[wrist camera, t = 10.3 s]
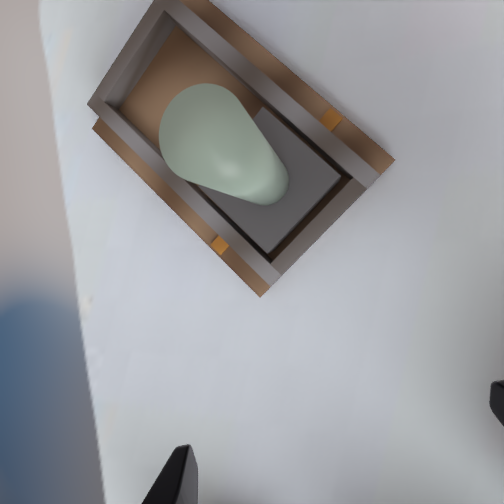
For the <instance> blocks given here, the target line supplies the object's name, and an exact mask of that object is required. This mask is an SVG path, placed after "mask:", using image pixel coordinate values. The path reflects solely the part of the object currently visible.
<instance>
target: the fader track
mask: <svg viewBox="0 0 504 504" xmlns="http://www.w3.org/2000/svg"><path fill="white" fill-rule="evenodd" d="M204 83H208V84H215V85H219V86H222V87H224V88H226V89H227V90H229V91H230V92H231V93H233V94H234V95H235V96H236V97H237V99H238V100H239V101H240V103H241V104H242V106H243V107H244V109H245V110H246V111H247V113H248V114H249V116H250V117H251V119H252V120H253V118H254V117H255V116H256V115H257V113H258V112H259V111H260V110H261V108H262V107H264V108H265V109H266V110H268V111H269V112H270V113H271V114H272V115H273V116H274V117H275V118H277V119H278V120H279V121H280V122H281V123H282V124H283V125H284V126H286V127H287V128H288V129H289V130H290V131H291V132H292V133H293V134H295V135H296V136H297V137H298V138H299V139H300V140H301V141H302V142H304V143H305V144H306V145H307V146H308V147H309V148H310V149H311V150H313V151H314V152H315V153H316V154H317V155H318V156H319V157H320V158H322V159H323V160H324V161H325V162H326V163H327V164H328V165H329V166H331V167H332V168H333V169H334V170H335V171H336V172H337V173H338V174H340V175H341V177H340V181H339V182H338V183H337V184H336V186H335V187H334V188H333V189H332V190H331V191H330V192H329V193H328V194H327V195H326V196H325V197H324V198H323V199H322V200H321V201H320V202H319V203H318V204H317V206H316V207H315V208H314V209H313V210H312V211H311V212H310V213H309V214H308V215H307V216H306V217H305V218H304V219H303V220H302V221H301V222H300V223H299V225H298V226H297V227H296V228H295V229H294V230H293V231H292V232H291V233H290V234H289V235H288V236H287V237H286V238H285V239H284V240H283V241H282V242H281V244H280V245H279V246H278V247H277V248H276V249H275V250H274V251H272V252H270V253H268V254H267V253H266V252H265V251H264V250H263V249H262V248H261V247H260V246H259V245H258V244H257V243H256V242H255V241H254V240H253V239H252V238H251V237H250V236H249V235H248V234H247V233H246V232H245V231H244V230H243V229H242V228H241V227H240V226H238V225H237V224H236V223H235V222H234V221H233V220H232V219H231V218H230V217H229V216H228V215H227V214H226V213H225V212H224V211H223V210H222V209H221V208H220V207H219V206H218V205H217V204H216V203H215V202H214V201H213V200H212V199H211V198H210V197H209V196H208V195H207V194H206V193H205V192H204V191H203V190H202V189H201V188H199V187H198V186H199V184H196V183H193V182H190V181H187V180H185V179H183V178H181V177H179V176H178V175H176V174H175V173H174V172H173V171H172V170H171V169H170V168H169V166H168V165H167V164H166V162H165V160H164V158H163V156H162V153H161V150H160V145H159V127H160V123H161V119H162V116H163V114H164V112H165V110H166V108H167V106H168V105H169V103H170V102H171V101H172V99H173V98H174V97H175V96H176V95H177V94H179V93H180V92H181V91H183V90H185V89H186V88H188V87H191V86H193V85H197V84H204ZM87 105H88V106H89V107H90V108H91V109H92V110H93V111H94V112H95V113H96V114H97V115H98V116H99V119H98V120H97V122H96V123H95V125H94V126H93V128H92V129H93V130H94V131H95V132H96V133H97V134H98V135H99V136H100V137H101V138H102V139H103V140H104V141H105V142H106V143H107V144H108V145H109V146H110V147H111V148H112V149H113V150H114V151H115V152H116V153H117V154H118V155H119V156H120V157H121V158H122V159H123V160H124V161H125V162H126V163H127V164H128V165H129V166H130V167H131V168H132V169H133V170H134V171H135V172H136V173H137V174H138V175H139V176H140V177H141V178H142V179H143V180H144V181H145V183H146V184H147V185H148V186H149V187H150V188H151V189H152V190H153V191H154V192H155V193H156V194H157V195H158V196H159V197H160V198H161V199H162V200H163V201H164V202H165V203H166V204H167V205H168V206H169V207H170V208H171V209H172V210H173V211H174V212H175V213H176V214H177V215H178V216H179V217H180V218H181V219H182V220H183V221H184V222H185V223H186V224H187V225H188V226H189V227H190V228H191V229H192V230H193V231H194V232H195V233H196V234H197V235H198V236H199V237H200V238H201V239H202V240H203V241H204V242H205V243H206V244H207V245H208V246H209V247H210V248H211V249H212V250H213V251H214V252H215V253H216V254H217V255H218V256H219V257H220V258H221V259H222V260H223V261H224V262H225V263H226V264H227V265H228V266H229V267H230V268H231V269H232V270H233V271H234V272H235V273H236V274H237V275H238V276H239V277H240V278H241V279H242V280H243V281H244V282H245V283H246V284H247V285H248V286H249V287H250V288H251V289H252V290H253V291H254V292H255V293H256V294H257V295H258V296H259V297H261V296H262V295H263V294H264V293H265V292H266V291H267V290H268V289H269V288H270V287H271V286H272V285H273V284H274V283H275V282H276V281H277V280H278V279H279V278H280V277H281V276H282V275H283V274H284V273H285V272H286V271H287V270H288V269H289V268H290V267H291V266H292V265H293V264H294V263H295V262H296V261H297V260H298V259H299V258H300V256H301V255H302V254H303V253H304V252H305V251H306V250H307V249H308V248H309V247H310V246H311V245H312V244H313V243H314V242H315V241H316V240H317V239H318V238H319V237H320V236H321V235H322V234H323V233H324V232H325V231H326V230H327V229H328V228H329V227H330V226H331V225H332V224H333V223H334V222H335V221H336V220H337V219H338V218H339V217H340V216H341V215H342V214H343V213H344V212H345V211H346V210H347V209H348V208H349V207H350V206H351V205H352V204H353V203H354V202H355V201H356V200H357V199H358V198H359V196H360V195H361V194H362V193H363V192H364V191H365V190H366V189H367V188H368V187H369V186H370V185H371V184H372V183H373V182H374V181H375V180H376V179H377V178H378V177H379V176H380V175H381V174H382V173H383V172H384V171H385V170H386V169H387V168H388V167H389V166H390V165H391V164H392V163H393V162H394V161H395V159H394V158H393V157H392V156H390V155H389V154H388V153H387V152H386V151H385V150H383V149H382V148H381V147H380V146H379V145H377V144H376V143H375V142H374V141H373V140H372V139H370V138H369V137H368V136H367V135H366V134H365V133H363V132H362V131H361V130H360V129H359V128H358V127H356V126H355V125H354V124H353V123H352V122H351V121H349V120H348V119H347V118H346V117H345V116H343V115H342V114H341V113H340V112H339V111H338V110H336V109H335V108H334V107H333V106H332V105H331V104H329V103H328V102H327V101H326V100H325V99H324V98H322V97H321V96H320V95H319V94H318V93H317V92H315V91H314V90H313V89H312V88H311V87H310V86H308V85H307V84H306V83H305V82H304V81H302V80H301V79H300V78H299V77H298V76H297V75H295V74H294V73H293V72H292V71H291V70H290V69H288V68H287V67H286V66H285V65H284V64H283V63H281V62H280V61H279V60H278V59H277V58H276V57H274V56H273V55H272V54H271V53H270V52H268V51H267V50H266V49H265V48H264V47H263V46H261V45H260V44H259V43H258V42H257V41H256V40H254V39H253V38H252V37H251V36H250V35H249V34H247V33H246V32H245V31H244V30H243V29H242V28H240V27H239V26H238V25H237V24H236V23H235V22H233V21H232V20H231V19H230V18H229V17H227V16H226V15H225V14H224V13H223V12H222V11H220V10H219V9H218V8H217V7H216V6H215V5H213V4H212V3H211V2H210V1H209V0H154V1H153V2H152V4H151V5H150V7H149V9H148V10H147V12H146V13H145V15H144V16H143V18H142V19H141V21H140V23H139V24H138V26H137V27H136V29H135V30H134V32H133V33H132V35H131V36H130V38H129V40H128V41H127V43H126V44H125V46H124V47H123V49H122V50H121V52H120V54H119V55H118V57H117V58H116V60H115V61H114V63H113V64H112V66H111V68H110V69H109V71H108V72H107V74H106V75H105V77H104V78H103V80H102V82H101V83H100V85H99V86H98V88H97V89H96V91H95V92H94V94H93V95H92V97H91V99H90V100H89V102H88V103H87Z"/></svg>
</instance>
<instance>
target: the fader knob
mask: <svg viewBox="0 0 504 504" xmlns="http://www.w3.org/2000/svg"><path fill="white" fill-rule="evenodd" d="M159 145H160V150H161V153H162V156H163V158H164V160H165V162H166V164H167V165H168V166H169V168H170V169H171V170H172V171H173V172H174V173H175V174H176V175H178V176H179V177H181V178H183V179H185V180H187V181H190V182H193V183H196V184H199V186H198V187H199V188H201V189H202V190H203V191H204V192H205V193H206V194H207V195H208V196H209V197H210V198H211V199H212V200H213V201H214V202H215V203H216V204H217V205H218V206H219V207H220V208H221V209H222V210H223V211H224V212H225V213H226V214H227V215H228V216H229V217H230V218H231V219H232V220H233V221H234V222H235V223H236V224H237V225H238V226H240V227H241V228H242V229H243V230H244V231H245V232H246V233H247V234H248V235H249V236H250V237H251V238H252V239H253V240H254V241H255V242H256V243H257V244H258V245H259V246H260V247H261V248H262V249H263V250H264V251H265V252H266V253H267V254H268V253H270V252H272V251H274V250H275V249H276V248H277V247H278V246H279V245H280V244H281V242H282V241H283V240H284V239H285V238H286V237H287V236H288V235H289V234H290V233H291V232H292V231H293V230H294V229H295V228H296V227H297V226H298V225H299V223H300V222H301V221H302V220H303V219H304V218H305V217H306V216H307V215H308V214H309V213H310V212H311V211H312V210H313V209H314V208H315V207H316V206H317V204H318V203H319V202H320V201H321V200H322V199H323V198H324V197H325V196H326V195H327V194H328V193H329V192H330V191H331V190H332V189H333V188H334V187H335V186H336V184H337V183H338V182H339V181H340V177H341V175H340V174H338V173H337V172H336V171H335V170H334V169H333V168H332V167H331V166H329V165H328V164H327V163H326V162H325V161H324V160H323V159H322V158H320V157H319V156H318V155H317V154H316V153H315V152H314V151H313V150H311V149H310V148H309V147H308V146H307V145H306V144H305V143H304V142H302V141H301V140H300V139H299V138H298V137H297V136H296V135H295V134H293V133H292V132H291V131H290V130H289V129H288V128H287V127H286V126H284V125H283V124H282V123H281V122H280V121H279V120H278V119H277V118H275V117H274V116H273V115H272V114H271V113H270V112H269V111H268V110H266V109H265V108H264V107H262V108H261V110H260V111H259V112H258V113H257V115H256V116H255V117H254V118H253V120H252V119H251V117H250V116H249V114H248V113H247V111H246V110H245V109H244V107H243V106H242V104H241V103H240V101H239V100H238V99H237V97H236V96H235V95H234V94H233V93H231V92H230V91H229V90H227V89H226V88H224V87H222V86H219V85H215V84H208V83H204V84H197V85H193V86H191V87H188V88H186V89H185V90H183V91H181V92H180V93H179V94H177V95H176V96H175V97H174V98H173V99H172V101H171V102H170V103H169V105H168V106H167V108H166V110H165V112H164V114H163V116H162V119H161V123H160V127H159Z"/></svg>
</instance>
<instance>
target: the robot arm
mask: <svg viewBox="0 0 504 504" xmlns="http://www.w3.org/2000/svg"><path fill="white" fill-rule="evenodd" d="M489 404H490V407H491V410H492V412H493V413H494V414H495V416H496V417H497V418H498V420H499V421H500V422H501V424H502V425H503V426H504V380H499V381H494V382H493V383H492V384H491V389H490V401H489ZM142 504H198V467H197V463H196V459H195V456H194V453H193V450H192V447H191V445H189V444H187V445H182V446H178V447H176V448H175V449H174V451H173V453H172V454H171V456H170V458H169V459H168V461H167V462H166V464H165V466H164V467H163V469H162V471H161V472H160V474H159V476H158V477H157V479H156V481H155V482H154V484H153V486H152V487H151V489H150V491H149V492H148V494H147V496H146V497H145V499H144V501H143V502H142Z"/></svg>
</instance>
